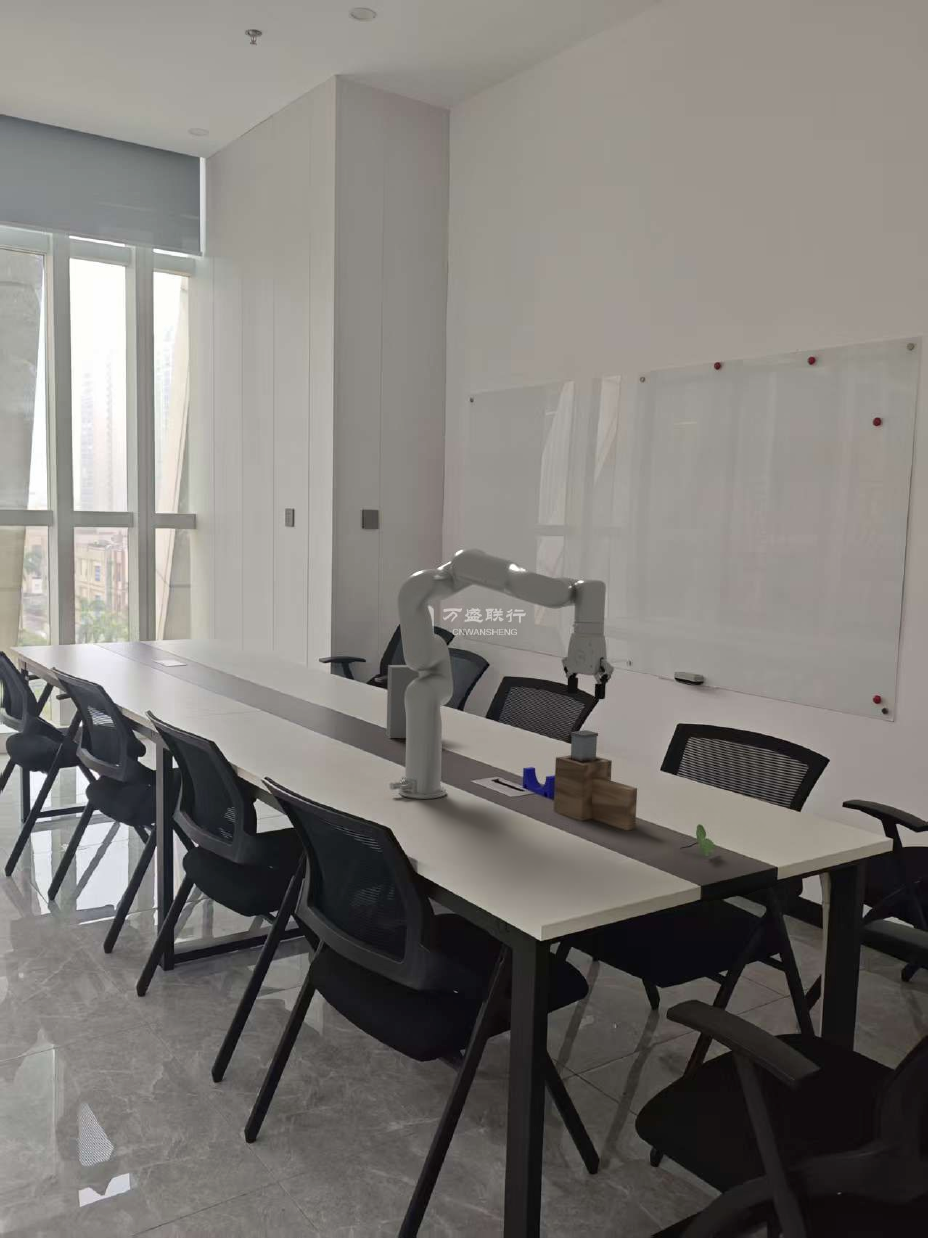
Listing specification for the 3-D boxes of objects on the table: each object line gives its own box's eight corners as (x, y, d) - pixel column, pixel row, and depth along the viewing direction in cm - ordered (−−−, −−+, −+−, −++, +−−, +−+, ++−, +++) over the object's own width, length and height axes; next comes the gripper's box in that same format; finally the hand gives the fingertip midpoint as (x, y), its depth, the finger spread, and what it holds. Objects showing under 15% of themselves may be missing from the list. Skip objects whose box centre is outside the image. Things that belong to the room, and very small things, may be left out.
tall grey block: (424, 736, 352) (426, 664, 349) (429, 740, 346) (431, 666, 344) (385, 738, 347) (386, 664, 345) (389, 741, 341) (391, 667, 339)
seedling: (693, 870, 234) (718, 860, 231) (673, 857, 230) (698, 846, 227) (689, 843, 239) (713, 833, 236) (669, 829, 235) (693, 818, 232)
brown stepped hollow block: (616, 832, 246) (619, 775, 245) (553, 811, 263) (555, 757, 262) (645, 826, 252) (647, 770, 251) (581, 805, 269) (583, 753, 268)
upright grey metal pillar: (581, 777, 258) (583, 735, 257) (569, 774, 261) (570, 732, 260) (596, 774, 261) (598, 733, 260) (583, 771, 265) (585, 730, 264)
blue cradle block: (562, 797, 278) (562, 775, 277) (548, 799, 275) (549, 777, 275) (535, 787, 288) (536, 766, 287) (522, 789, 285) (523, 768, 285)
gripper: (554, 626, 262) (551, 692, 264) (603, 633, 249) (600, 702, 250) (575, 625, 267) (572, 690, 269) (624, 631, 254) (621, 700, 255)
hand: (585, 696), depth 260 cm, fingers open, 9 cm apart
